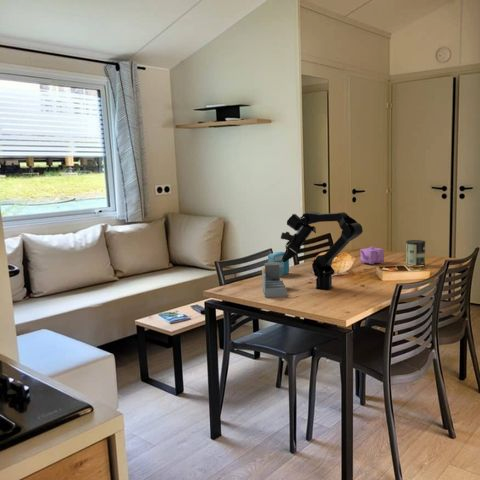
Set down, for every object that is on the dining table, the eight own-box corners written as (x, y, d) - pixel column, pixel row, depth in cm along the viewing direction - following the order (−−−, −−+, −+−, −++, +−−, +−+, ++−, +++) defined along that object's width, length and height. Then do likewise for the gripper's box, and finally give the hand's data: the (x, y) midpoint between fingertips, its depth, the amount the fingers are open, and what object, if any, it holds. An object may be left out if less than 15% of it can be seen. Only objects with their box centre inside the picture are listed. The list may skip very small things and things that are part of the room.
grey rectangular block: (279, 286, 256) (278, 262, 254) (280, 287, 253) (279, 263, 251) (265, 286, 255) (264, 262, 254) (265, 288, 252) (264, 263, 251)
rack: (282, 288, 250) (282, 264, 248) (286, 296, 235) (286, 271, 233) (262, 289, 250) (261, 265, 248) (264, 297, 234) (264, 271, 233)
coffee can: (424, 264, 295) (425, 239, 293) (425, 267, 286) (425, 242, 284) (405, 264, 298) (406, 239, 296) (405, 267, 289) (406, 242, 287)
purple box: (366, 267, 293) (366, 249, 292) (350, 263, 305) (350, 246, 304) (390, 263, 301) (390, 246, 300) (374, 260, 314) (374, 243, 312)
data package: (274, 277, 276) (273, 255, 274) (268, 276, 279) (267, 254, 278) (289, 273, 284) (288, 252, 282) (283, 272, 287) (282, 251, 286)
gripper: (287, 225, 261) (269, 250, 262) (289, 225, 243) (270, 252, 244) (305, 238, 261) (286, 263, 262) (308, 239, 243) (289, 266, 244)
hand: (282, 261), depth 253 cm, fingers open, 9 cm apart
